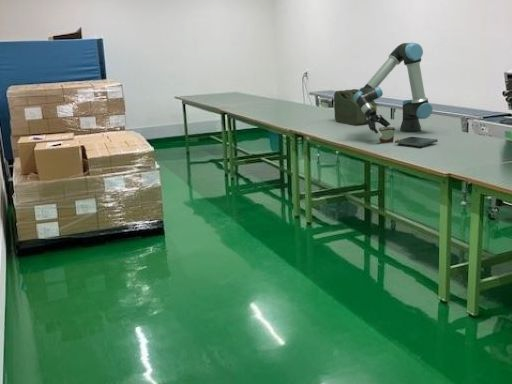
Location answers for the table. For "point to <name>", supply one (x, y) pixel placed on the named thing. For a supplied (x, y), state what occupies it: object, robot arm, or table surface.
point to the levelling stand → (415, 141)
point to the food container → (386, 134)
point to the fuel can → (349, 108)
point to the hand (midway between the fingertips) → (386, 135)
